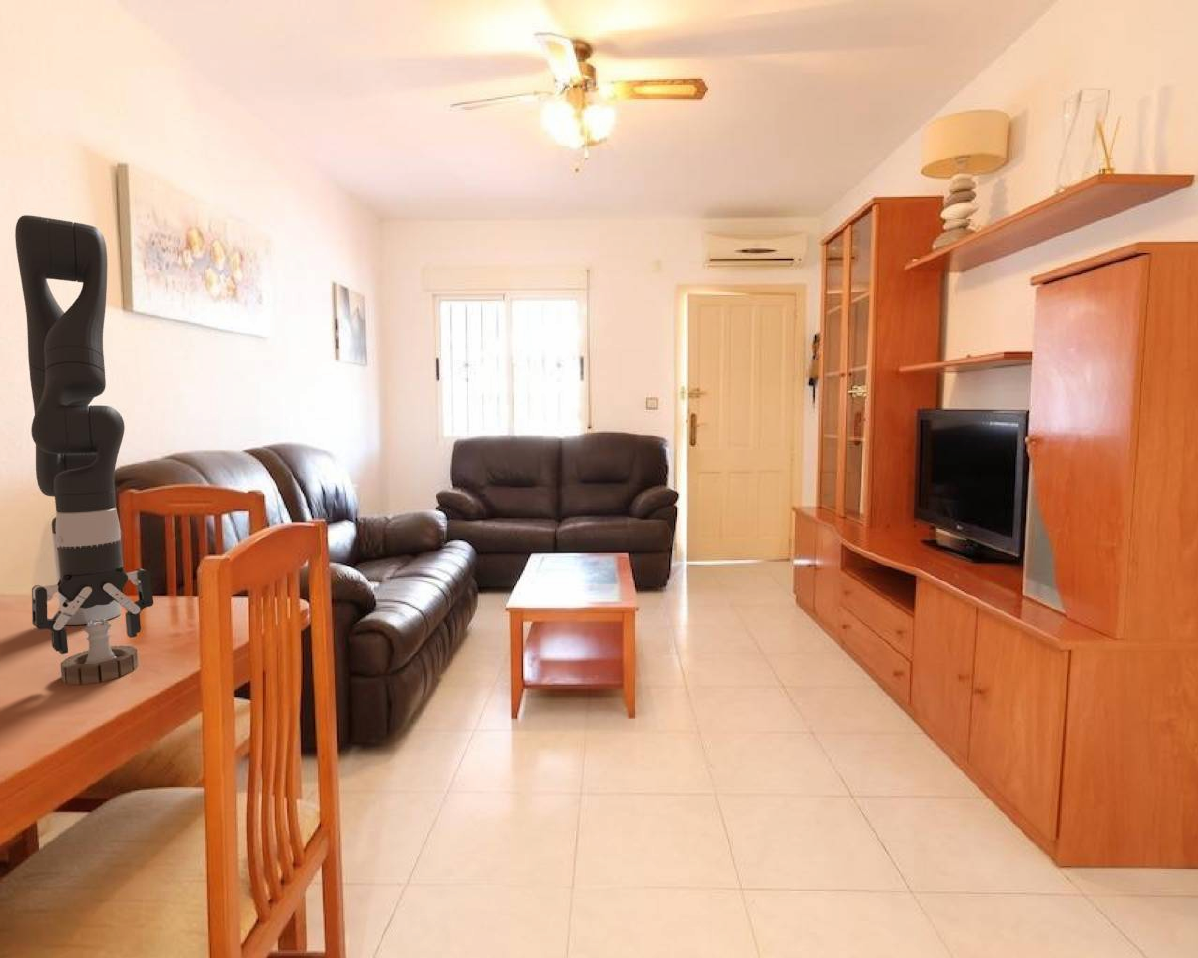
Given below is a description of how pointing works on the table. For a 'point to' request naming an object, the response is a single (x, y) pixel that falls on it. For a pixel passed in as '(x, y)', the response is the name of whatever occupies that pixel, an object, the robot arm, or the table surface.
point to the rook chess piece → (99, 642)
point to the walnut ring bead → (99, 666)
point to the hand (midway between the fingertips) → (98, 644)
